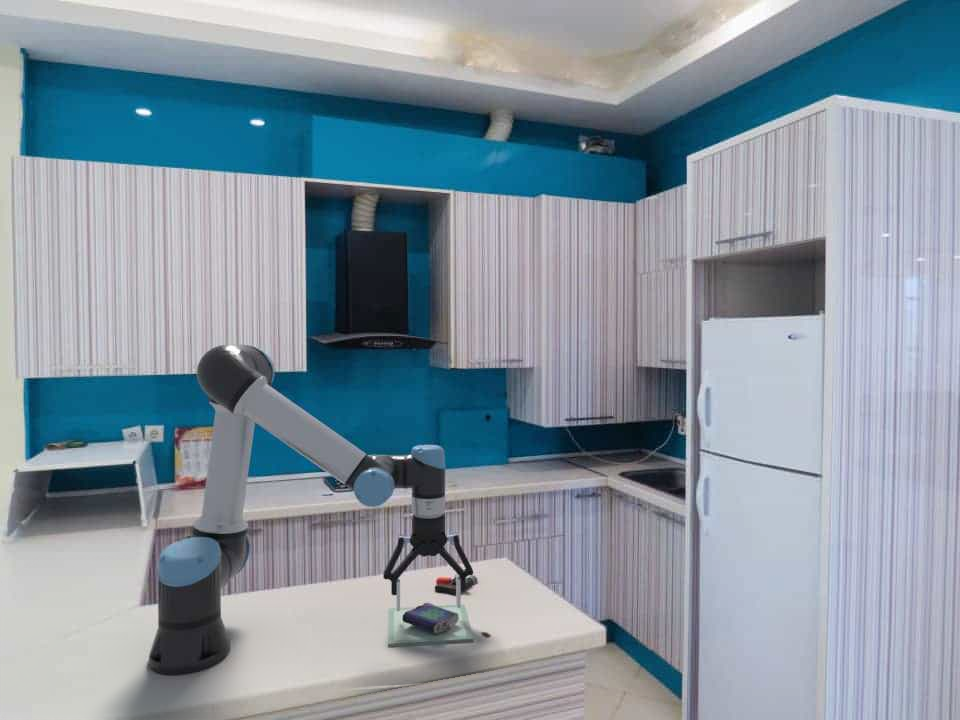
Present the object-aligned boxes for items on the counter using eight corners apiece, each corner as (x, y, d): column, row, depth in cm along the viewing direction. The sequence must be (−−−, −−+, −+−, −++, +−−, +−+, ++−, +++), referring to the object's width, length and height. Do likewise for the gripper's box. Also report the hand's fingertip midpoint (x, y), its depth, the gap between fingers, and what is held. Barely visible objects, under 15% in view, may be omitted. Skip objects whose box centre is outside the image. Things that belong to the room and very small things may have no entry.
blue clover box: (429, 600, 147) (466, 614, 140) (428, 613, 147) (465, 627, 140) (402, 612, 139) (439, 627, 133) (401, 625, 139) (438, 641, 133)
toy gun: (481, 584, 168) (481, 566, 168) (456, 600, 158) (456, 580, 158) (451, 577, 173) (451, 559, 173) (425, 592, 163) (424, 573, 163)
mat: (387, 646, 132) (387, 643, 132) (388, 610, 150) (388, 608, 150) (473, 641, 135) (473, 638, 135) (464, 606, 153) (464, 604, 153)
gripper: (372, 520, 138) (372, 617, 138) (485, 516, 141) (485, 610, 141) (373, 511, 145) (373, 603, 145) (480, 508, 148) (480, 597, 149)
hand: (428, 607), depth 143 cm, fingers open, 13 cm apart
